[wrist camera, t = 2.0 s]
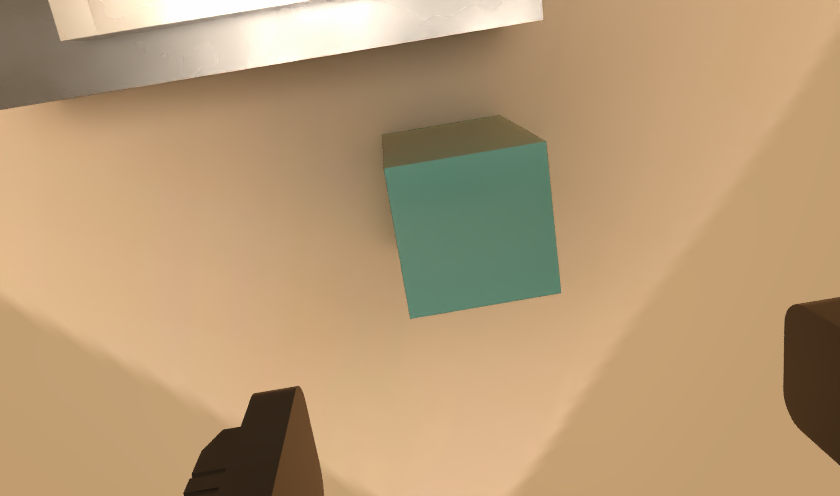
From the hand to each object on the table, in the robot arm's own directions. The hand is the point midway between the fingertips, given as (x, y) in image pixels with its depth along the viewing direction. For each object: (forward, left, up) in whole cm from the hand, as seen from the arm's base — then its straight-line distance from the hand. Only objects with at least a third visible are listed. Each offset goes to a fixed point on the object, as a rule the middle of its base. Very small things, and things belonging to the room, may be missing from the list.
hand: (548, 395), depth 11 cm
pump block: (0, 0, -18) cm, 18 cm away
